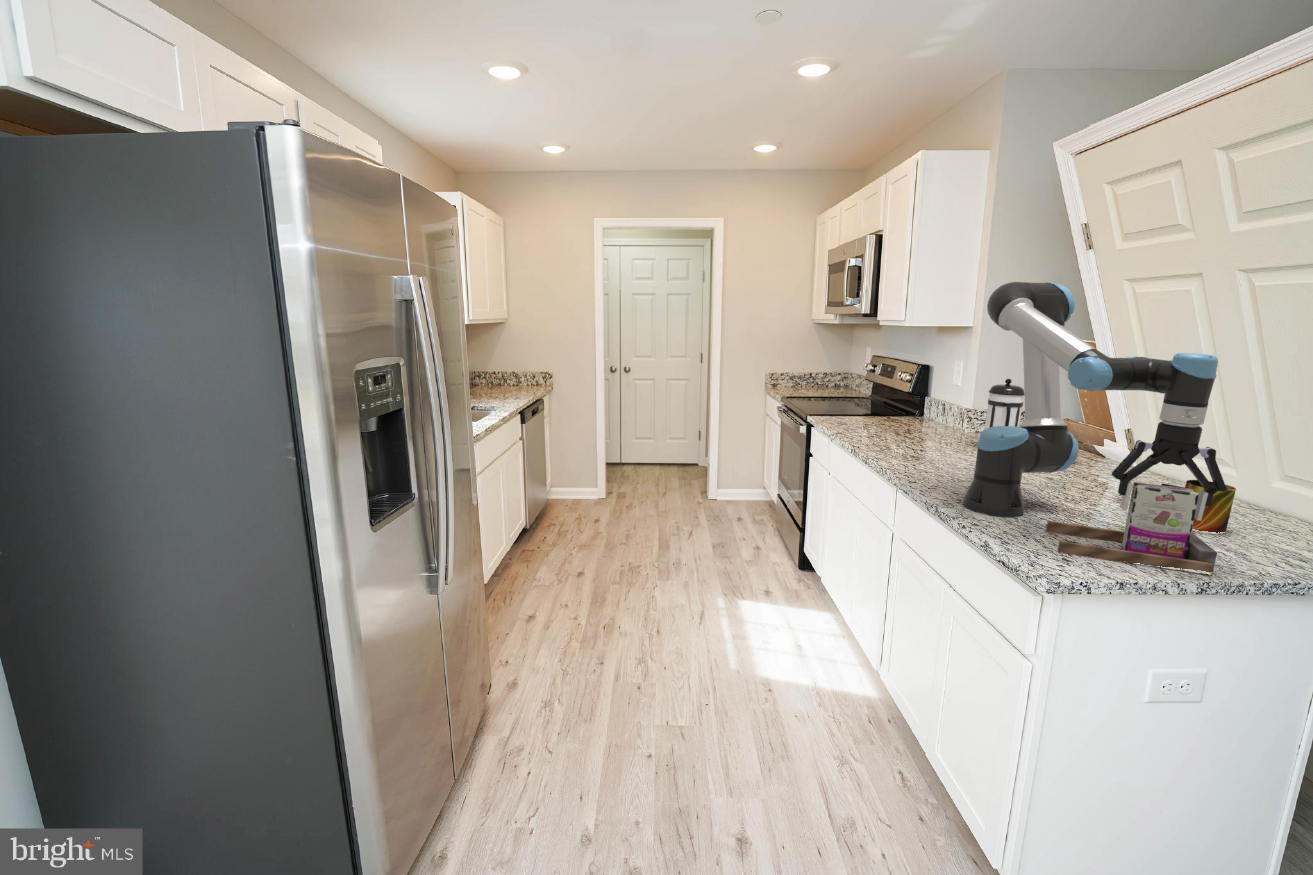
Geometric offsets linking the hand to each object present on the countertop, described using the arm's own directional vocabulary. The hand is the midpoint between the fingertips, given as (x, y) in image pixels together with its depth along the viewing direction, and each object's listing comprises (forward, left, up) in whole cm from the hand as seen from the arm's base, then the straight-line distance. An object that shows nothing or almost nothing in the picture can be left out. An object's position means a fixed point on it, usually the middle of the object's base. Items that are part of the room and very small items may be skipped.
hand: (1159, 513), depth 137 cm
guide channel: (-6, 0, -10) cm, 12 cm away
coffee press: (-21, +109, -10) cm, 111 cm away
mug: (+17, +30, -10) cm, 36 cm away
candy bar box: (0, -1, -10) cm, 10 cm away
